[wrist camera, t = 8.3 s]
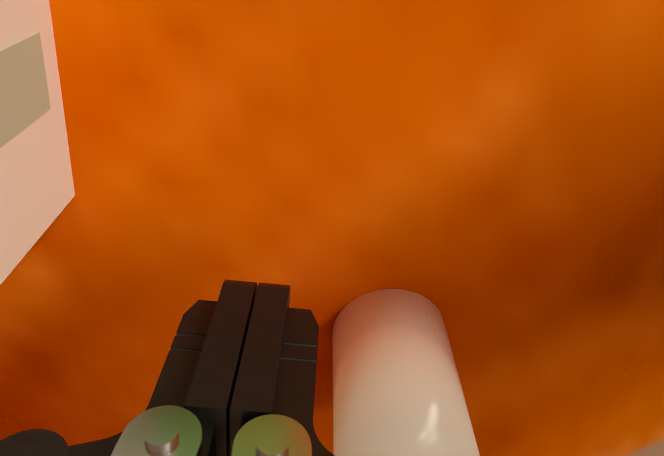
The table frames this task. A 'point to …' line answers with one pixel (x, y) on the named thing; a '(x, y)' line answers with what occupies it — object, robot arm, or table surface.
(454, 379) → the cream round-ended cylinder
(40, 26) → the carton
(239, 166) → the table surface
